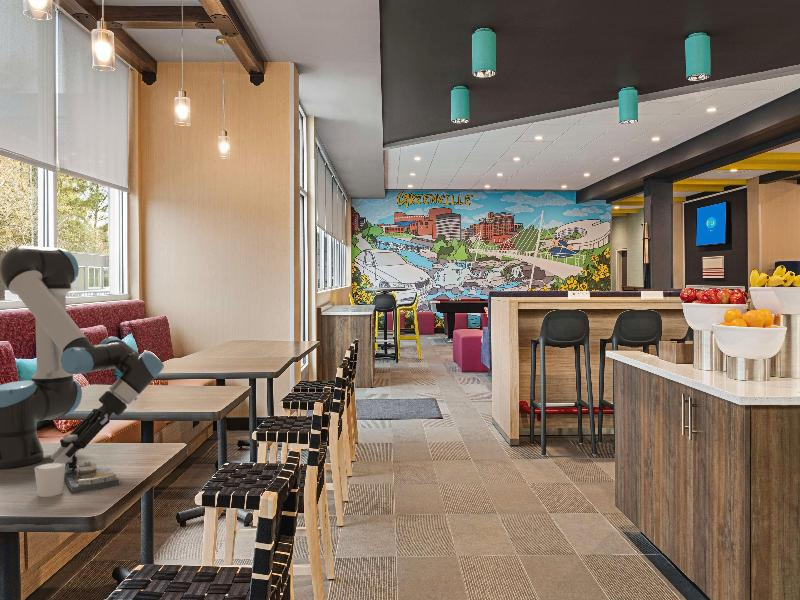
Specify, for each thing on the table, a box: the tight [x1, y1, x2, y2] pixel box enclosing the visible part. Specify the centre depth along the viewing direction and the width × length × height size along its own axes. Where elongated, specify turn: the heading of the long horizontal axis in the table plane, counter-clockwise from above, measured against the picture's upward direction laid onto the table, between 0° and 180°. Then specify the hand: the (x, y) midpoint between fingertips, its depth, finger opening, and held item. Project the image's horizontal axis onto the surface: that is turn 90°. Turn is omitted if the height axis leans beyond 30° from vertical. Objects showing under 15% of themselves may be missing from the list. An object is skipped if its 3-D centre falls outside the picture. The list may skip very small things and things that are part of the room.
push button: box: [59, 434, 78, 473], centre depth 179 cm, size 7×5×10 cm
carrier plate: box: [64, 461, 120, 494], centre depth 170 cm, size 15×11×4 cm
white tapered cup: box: [33, 462, 66, 498], centre depth 161 cm, size 7×7×7 cm
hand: (55, 462), depth 177 cm, fingers closed on push button, 5 cm apart
